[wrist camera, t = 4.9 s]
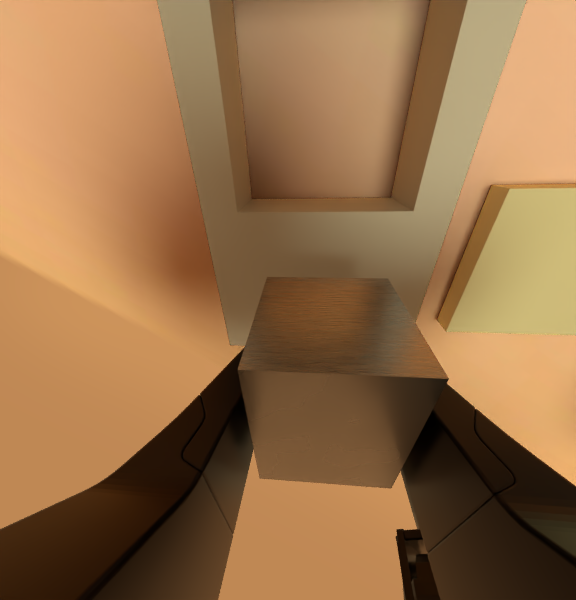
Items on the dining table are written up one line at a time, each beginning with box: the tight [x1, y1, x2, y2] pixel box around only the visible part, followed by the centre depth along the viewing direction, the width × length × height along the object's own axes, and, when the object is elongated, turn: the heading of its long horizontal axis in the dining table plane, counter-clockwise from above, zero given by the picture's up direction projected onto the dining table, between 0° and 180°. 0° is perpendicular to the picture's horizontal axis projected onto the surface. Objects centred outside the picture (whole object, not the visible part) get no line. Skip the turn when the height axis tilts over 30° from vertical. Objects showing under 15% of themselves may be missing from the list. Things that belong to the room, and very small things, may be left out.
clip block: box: [238, 277, 449, 488], centre depth 8 cm, size 5×4×4 cm
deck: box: [157, 0, 527, 346], centre depth 10 cm, size 16×10×5 cm, turn 1°
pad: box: [437, 184, 576, 335], centre depth 13 cm, size 8×8×1 cm
